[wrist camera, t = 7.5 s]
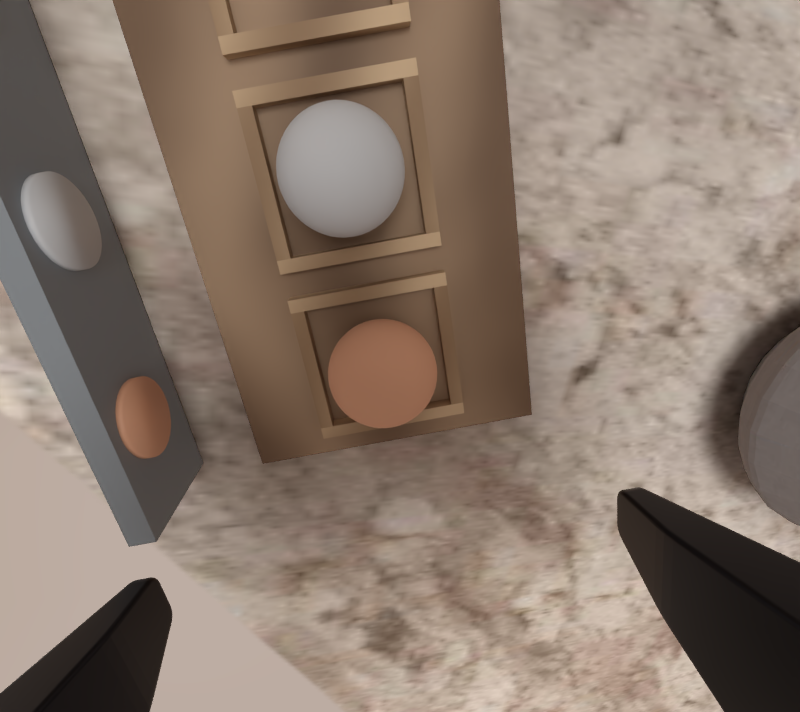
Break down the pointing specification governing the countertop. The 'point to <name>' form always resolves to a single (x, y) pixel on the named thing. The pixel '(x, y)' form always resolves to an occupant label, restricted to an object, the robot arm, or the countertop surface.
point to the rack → (335, 256)
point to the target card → (83, 295)
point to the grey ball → (340, 168)
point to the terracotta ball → (382, 373)
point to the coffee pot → (774, 428)
